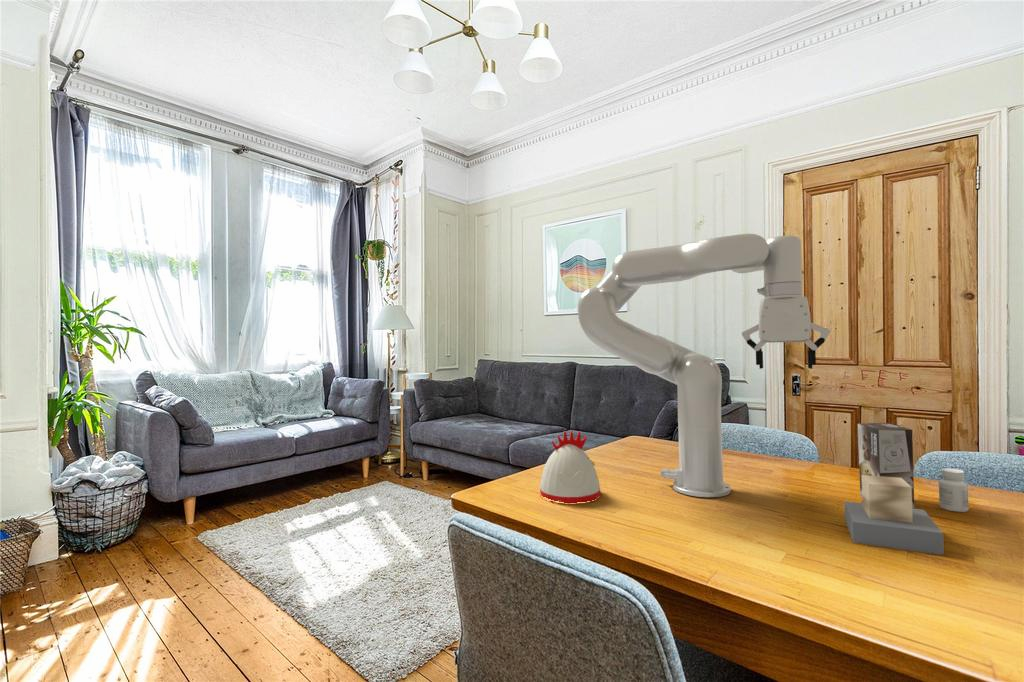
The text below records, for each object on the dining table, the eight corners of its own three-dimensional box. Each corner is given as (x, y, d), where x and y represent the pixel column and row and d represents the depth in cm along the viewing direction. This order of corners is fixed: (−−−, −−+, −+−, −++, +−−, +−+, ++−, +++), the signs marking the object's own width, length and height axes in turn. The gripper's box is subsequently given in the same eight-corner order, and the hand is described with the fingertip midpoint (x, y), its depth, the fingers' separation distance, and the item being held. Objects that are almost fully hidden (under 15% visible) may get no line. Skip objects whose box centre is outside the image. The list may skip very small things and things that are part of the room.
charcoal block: (853, 545, 85) (852, 521, 85) (845, 522, 96) (844, 501, 96) (943, 558, 79) (943, 533, 79) (924, 531, 90) (923, 509, 90)
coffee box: (916, 509, 100) (914, 429, 100) (880, 508, 101) (878, 429, 101) (891, 495, 109) (889, 422, 109) (858, 494, 110) (856, 421, 110)
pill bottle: (963, 506, 101) (962, 468, 101) (972, 513, 97) (971, 474, 97) (936, 504, 103) (935, 466, 103) (943, 511, 99) (942, 472, 99)
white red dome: (604, 504, 109) (602, 435, 109) (541, 505, 109) (539, 437, 109) (595, 485, 123) (593, 424, 123) (539, 486, 123) (537, 426, 123)
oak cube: (869, 518, 87) (868, 483, 87) (862, 507, 92) (861, 474, 92) (912, 522, 84) (911, 487, 84) (902, 511, 89) (901, 477, 89)
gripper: (739, 293, 112) (742, 369, 112) (830, 287, 104) (832, 369, 104) (741, 295, 119) (743, 367, 119) (827, 290, 111) (829, 367, 111)
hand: (785, 368), depth 112 cm, fingers open, 9 cm apart
